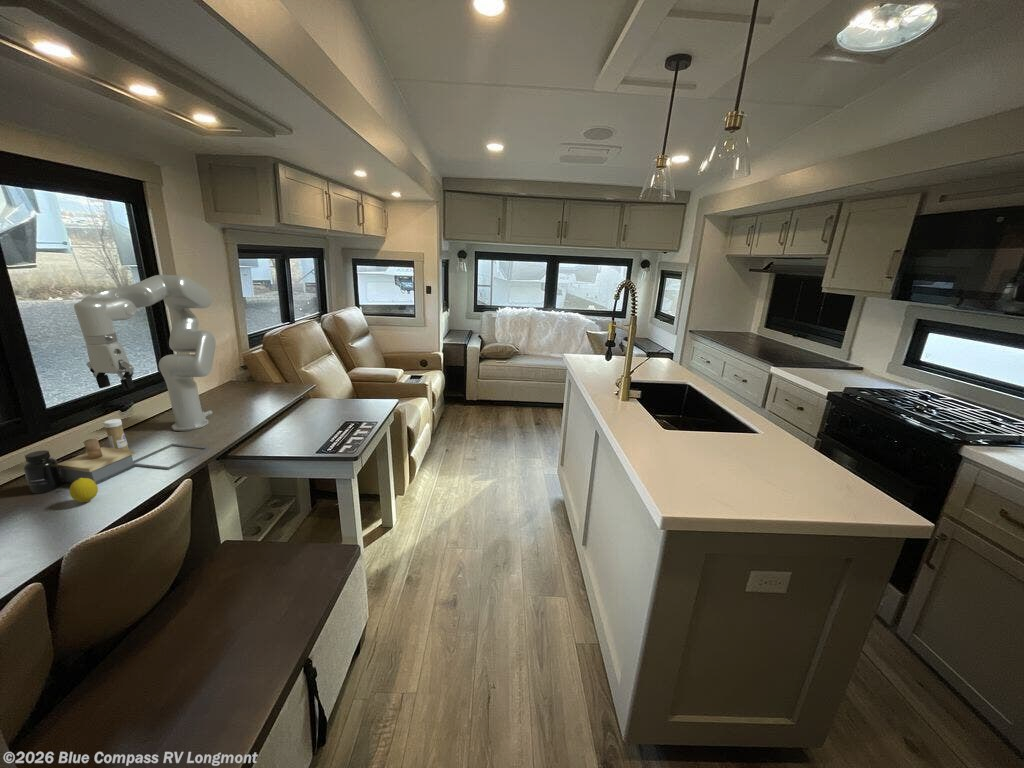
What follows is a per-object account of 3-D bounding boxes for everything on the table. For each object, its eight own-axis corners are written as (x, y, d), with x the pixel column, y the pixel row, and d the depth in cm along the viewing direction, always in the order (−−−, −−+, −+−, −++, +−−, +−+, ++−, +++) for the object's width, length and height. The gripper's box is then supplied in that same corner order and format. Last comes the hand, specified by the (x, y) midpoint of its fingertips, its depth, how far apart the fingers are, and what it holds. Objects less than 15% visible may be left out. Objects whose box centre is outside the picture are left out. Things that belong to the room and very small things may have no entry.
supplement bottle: (34, 496, 120) (21, 460, 117) (29, 489, 124) (16, 454, 120) (67, 486, 126) (55, 452, 122) (61, 480, 129) (49, 446, 126)
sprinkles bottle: (128, 455, 146) (119, 421, 142) (111, 458, 144) (101, 424, 140) (131, 450, 150) (122, 417, 146) (114, 453, 147) (105, 419, 143)
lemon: (86, 497, 121) (78, 473, 118) (106, 496, 121) (98, 473, 119) (68, 507, 115) (60, 483, 113) (89, 507, 116) (81, 482, 113)
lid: (102, 450, 139) (97, 431, 137) (134, 453, 137) (128, 434, 135) (56, 467, 127) (49, 447, 125) (89, 472, 125) (83, 451, 123)
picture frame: (172, 444, 155) (172, 443, 155) (211, 448, 153) (211, 447, 153) (126, 465, 139) (126, 464, 139) (168, 469, 137) (168, 468, 137)
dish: (105, 464, 140) (101, 451, 138) (134, 467, 138) (131, 454, 137) (63, 481, 128) (59, 467, 127) (95, 485, 127) (91, 471, 125)
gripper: (135, 338, 133) (149, 386, 139) (92, 335, 136) (107, 382, 141) (111, 343, 126) (126, 394, 132) (65, 340, 129) (83, 389, 134)
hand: (117, 388), depth 137 cm, fingers open, 9 cm apart
